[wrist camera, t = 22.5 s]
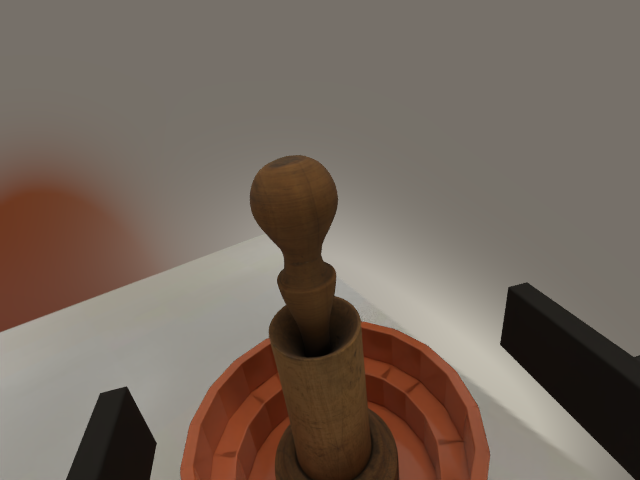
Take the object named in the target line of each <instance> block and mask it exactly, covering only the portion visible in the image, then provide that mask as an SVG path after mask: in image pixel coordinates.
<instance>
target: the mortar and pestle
mask: <svg viewBox="0 0 640 480" xmlns="http://www.w3.org/2000/svg"><path fill="white" fill-rule="evenodd" d="M337 205H338V196H337V190H336V186H335V183H334V181H333V179H332V177H331V175H330V173H329V172H328V171H327V170H326V168H325V167H324V166H323V165H322V164H321V163H319V162H318V161H316V160H314V159H312V158H309V157H306V156H301V155H295V156H286V157H282V158H279V159H277V160H275V161H272V162H270V163H268V164H267V165H265V166H264V167H263V168H262V169H260V170H259V172H258V173H257V175H256V176H255V178H254V180H253V183H252V186H251V191H250V206H251V211H252V214H253V216H254V218H255V220H256V222H257V223H258V225H259V226H260V227H261V229H262V230H263V231H264V232H265V233H266V234H267V235H268V237H269V238H270V239H271V240H272V241H273V242H274V243H275V244H276V245H277V246H278V247H279V248H280V249H281V251H282V253H283V256H284V269H283V270H282V271H281V272H280V273H279V275H278V278H277V284H278V287H279V290H280V292H281V295H282V297H283V299H284V301H285V303H286V306H284V307H283V308H282V309H281V310H279V311H278V313H277V314H276V315H275V316H274V318H273V319H272V321H271V323H270V326H269V338H270V343H271V347H272V351H273V354H274V358H275V362H276V366H277V370H278V374H279V378H280V382H281V386H282V390H283V395H284V399H285V403H286V407H287V411H288V416H289V420H290V424H289V426H288V427H287V428H286V430H285V431H284V433H283V435H282V437H281V439H280V441H279V444H278V447H277V451H276V456H275V477H276V480H399V462H398V451H397V446H396V443H395V439H394V437H393V434H392V432H391V431H390V429H389V427H388V426H387V424H386V423H385V422H384V420H383V419H382V418H381V417H380V416H379V415H377V414H376V413H375V412H374V411H372V410H371V409H369V408H368V404H367V392H366V380H365V367H364V355H363V343H362V329H361V320H360V316H359V313H358V312H357V310H356V309H355V307H354V306H353V305H352V304H350V303H349V302H348V301H346V300H344V299H342V298H339V297H336V296H334V293H335V286H336V272H335V269H334V268H333V267H332V266H331V265H330V264H328V263H326V262H324V261H323V260H322V256H321V250H322V243H323V241H324V239H325V236H326V234H327V232H328V230H329V228H330V226H331V223H332V221H333V219H334V216H335V214H336V210H337Z"/></svg>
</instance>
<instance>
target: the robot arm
mask: <svg viewBox="0 0 640 480" xmlns="http://www.w3.org/2000/svg"><path fill="white" fill-rule="evenodd" d="M500 345H501V346H502V347H503V348H504V349H505V350H506V351H507V352H508V353H509V354H510V355H511V356H512V357H513V358H514V359H515V360H516V361H517V362H518V363H519V364H520V365H521V366H522V367H523V368H524V369H525V370H526V371H527V372H528V373H529V374H530V375H531V376H532V377H533V378H534V379H535V380H536V381H537V382H538V383H539V384H540V385H541V386H542V387H543V388H544V389H545V390H546V391H547V392H548V393H549V394H550V395H551V396H552V397H553V398H554V399H555V400H556V401H557V402H558V403H559V404H560V405H561V406H562V407H563V408H564V409H565V410H566V411H567V412H568V413H569V414H570V415H571V416H572V417H573V418H574V419H575V420H576V421H577V422H578V423H579V424H580V425H581V426H582V427H583V428H584V429H585V430H586V431H587V432H588V433H589V434H590V435H591V436H592V437H593V438H594V439H595V440H596V441H597V442H598V443H599V444H600V445H601V446H602V447H603V448H604V449H605V450H606V451H607V452H608V453H609V454H610V455H611V456H612V457H613V458H614V459H615V460H616V461H617V462H618V463H619V464H620V465H621V466H622V467H623V468H624V469H625V470H626V471H627V472H628V473H629V474H630V475H631V476H632V477H633V478H634V479H635V480H640V355H639V356H636V357H633V356H631V355H630V354H628V353H627V352H626V351H624V350H623V349H621V348H620V347H618V346H617V345H616V344H614V343H613V342H611V341H610V340H608V339H607V338H606V337H604V336H603V335H601V334H600V333H598V332H597V331H596V330H594V329H593V328H591V327H590V326H588V325H587V324H586V323H584V322H583V321H581V320H580V319H579V318H577V317H576V316H574V315H573V314H571V313H570V312H569V311H567V310H565V309H564V308H563V307H561V306H560V305H559V304H557V303H556V302H554V301H553V300H551V299H550V298H549V297H547V296H546V295H544V294H543V293H541V292H540V291H539V290H537V289H535V288H534V287H533V286H531V285H530V284H529V283H523V284H519V285H515V286H511V287H509V288H508V294H507V301H506V308H505V315H504V322H503V329H502V336H501V343H500ZM156 444H157V443H156V441H155V439H154V437H153V435H152V434H151V432H150V430H149V428H148V426H147V424H146V422H145V420H144V418H143V416H142V414H141V413H140V411H139V409H138V407H137V405H136V403H135V401H134V399H133V397H132V395H131V393H130V392H129V390H128V388H127V387H123V388H119V389H115V390H111V391H108V392H104V393H100V395H99V398H98V400H97V403H96V405H95V408H94V410H93V413H92V415H91V418H90V420H89V423H88V425H87V428H86V430H85V433H84V436H83V438H82V441H81V443H80V446H79V448H78V451H77V453H76V456H75V458H74V461H73V463H72V466H71V468H70V471H69V473H68V476H67V478H66V480H150V475H151V470H152V465H153V460H154V454H155V449H156Z"/></svg>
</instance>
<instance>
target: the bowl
mask: <svg viewBox="0 0 640 480" xmlns="http://www.w3.org/2000/svg"><path fill="white" fill-rule="evenodd" d="M361 329H362V343H363V355H364V367H365V380H366V392H367V404H368V408H369V409H371V410H372V411H374V412H375V413H376V414H377V415H379V416H380V417H381V418H382V419H383V420H384V422H385V423H386V424H387V426H388V427H389V429H390V431H391V432H392V434H393V437H394V439H395V443H396V446H397V451H398V462H399V480H487V479H488V470H489V461H490V451H489V446H488V442H487V438H486V434H485V430H484V426H483V422H482V418H481V414H480V410H479V407H478V405H477V404H476V402H475V400H474V399H473V397H472V396H471V394H470V392H469V391H468V389H467V388H466V386H465V384H464V383H463V381H462V380H461V378H460V376H459V375H458V373H457V372H456V371H455V370H454V369H453V368H452V367H451V366H450V365H449V364H448V363H447V362H445V361H444V360H443V359H442V358H441V357H440V356H439V355H438V354H436V353H435V352H434V351H433V350H432V349H431V348H430V347H429V346H427V345H425V344H423V343H421V342H419V341H418V340H416V339H414V338H412V337H410V336H408V335H406V334H404V333H402V332H400V331H398V330H395V329H392V328H388V327H384V326H380V325H375V324H371V323H367V322H362V321H361ZM289 424H290V420H289V416H288V411H287V407H286V403H285V399H284V395H283V390H282V386H281V382H280V378H279V374H278V370H277V366H276V362H275V358H274V354H273V351H272V347H271V343H270V338H268V339H265V340H264V341H262V342H261V343H259V344H258V345H256V346H255V347H254V348H252V349H251V350H249V351H248V352H246V353H245V354H243V355H242V356H241V357H239V358H238V359H236V361H234V362H233V363H232V364H231V365H230V366H229V367H228V368H227V369H226V370H225V372H224V373H223V374H222V375H221V376H220V377H219V378H218V379H217V380H216V381H215V382H214V384H213V385H212V386H211V387H210V388H209V390H208V391H207V393H206V395H205V397H204V399H203V401H202V403H201V405H200V406H199V408H198V410H197V412H196V414H195V416H194V418H193V419H192V421H191V423H190V426H189V430H188V435H187V439H186V444H185V449H184V454H183V458H182V463H181V468H180V476H181V480H276V477H275V456H276V451H277V447H278V444H279V441H280V439H281V437H282V435H283V433H284V431H285V430H286V428H287V427H288V426H289Z"/></svg>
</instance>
